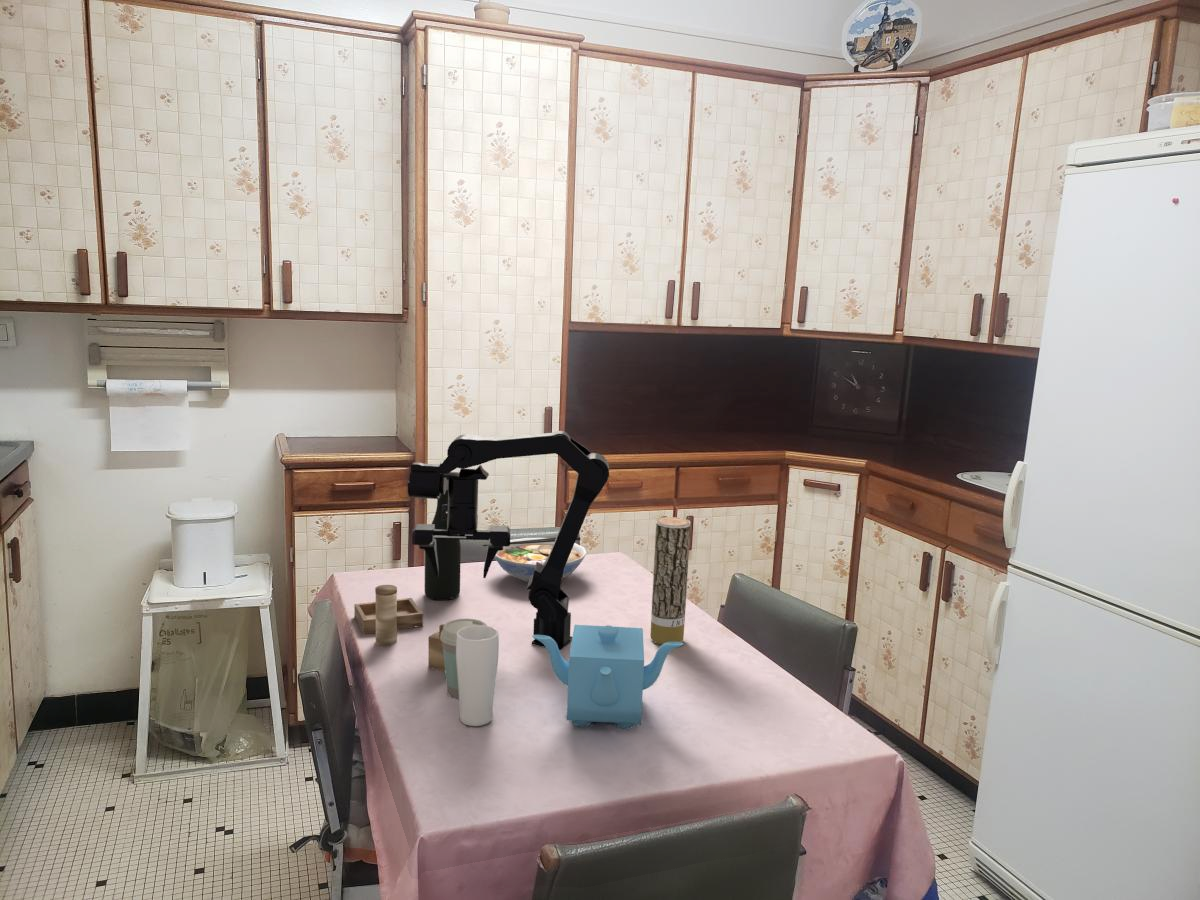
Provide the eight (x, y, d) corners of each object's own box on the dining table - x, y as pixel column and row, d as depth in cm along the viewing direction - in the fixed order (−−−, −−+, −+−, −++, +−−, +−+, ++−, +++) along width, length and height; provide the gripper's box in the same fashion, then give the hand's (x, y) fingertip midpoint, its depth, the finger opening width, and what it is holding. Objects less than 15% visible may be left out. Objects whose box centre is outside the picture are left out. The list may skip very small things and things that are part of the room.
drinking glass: (462, 733, 139) (464, 643, 137) (449, 714, 145) (450, 627, 142) (503, 725, 142) (505, 636, 140) (488, 707, 148) (490, 622, 146)
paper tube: (645, 643, 178) (651, 522, 174) (656, 631, 185) (662, 515, 180) (677, 649, 176) (684, 527, 171) (687, 637, 182) (694, 519, 178)
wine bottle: (417, 595, 201) (417, 465, 196) (444, 587, 207) (446, 461, 202) (439, 604, 196) (441, 471, 190) (467, 595, 202) (469, 466, 196)
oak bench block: (437, 661, 165) (437, 621, 164) (484, 672, 162) (484, 630, 160) (428, 667, 163) (428, 626, 161) (475, 678, 159) (476, 636, 158)
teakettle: (606, 680, 161) (609, 602, 158) (684, 717, 147) (688, 633, 145) (524, 710, 148) (526, 626, 145) (602, 754, 134) (605, 663, 132)
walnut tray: (411, 610, 191) (411, 597, 191) (422, 626, 182) (423, 613, 182) (354, 616, 186) (354, 604, 186) (363, 633, 177) (363, 620, 177)
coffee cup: (479, 705, 149) (481, 638, 146) (431, 699, 150) (432, 632, 148) (495, 684, 157) (497, 620, 155) (450, 678, 158) (450, 614, 156)
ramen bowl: (500, 599, 200) (501, 564, 199) (477, 569, 221) (477, 537, 220) (603, 590, 209) (605, 557, 208) (571, 562, 230) (572, 531, 229)
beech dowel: (401, 640, 175) (401, 586, 173) (388, 647, 171) (388, 592, 169) (383, 636, 176) (383, 583, 174) (371, 643, 173) (370, 589, 171)
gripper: (510, 492, 181) (507, 565, 183) (417, 489, 178) (416, 564, 181) (511, 505, 170) (508, 583, 172) (412, 502, 167) (411, 581, 170)
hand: (460, 577), depth 174 cm, fingers open, 9 cm apart
